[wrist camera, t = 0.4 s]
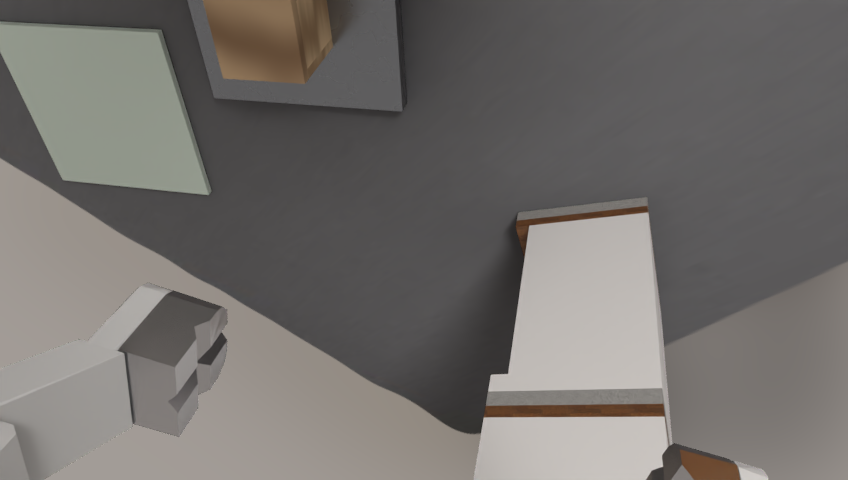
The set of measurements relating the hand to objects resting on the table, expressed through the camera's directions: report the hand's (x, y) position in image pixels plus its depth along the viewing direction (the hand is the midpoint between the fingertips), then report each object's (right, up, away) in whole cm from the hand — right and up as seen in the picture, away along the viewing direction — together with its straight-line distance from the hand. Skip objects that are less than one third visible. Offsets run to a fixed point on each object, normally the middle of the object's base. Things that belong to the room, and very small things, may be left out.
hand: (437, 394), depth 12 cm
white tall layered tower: (+15, +2, +46) cm, 48 cm away
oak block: (-10, +20, +35) cm, 41 cm away
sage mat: (-29, +14, +47) cm, 57 cm away
